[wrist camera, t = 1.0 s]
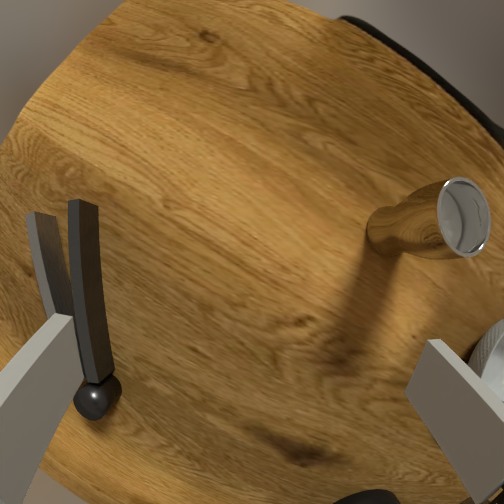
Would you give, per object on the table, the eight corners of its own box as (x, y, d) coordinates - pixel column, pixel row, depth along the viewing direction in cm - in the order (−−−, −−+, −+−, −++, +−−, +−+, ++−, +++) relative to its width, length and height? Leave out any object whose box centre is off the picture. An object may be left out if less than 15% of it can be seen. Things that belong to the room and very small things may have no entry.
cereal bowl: (466, 305, 35) (499, 312, 28) (524, 315, 36) (552, 320, 29) (434, 415, 35) (460, 434, 28) (497, 407, 35) (521, 420, 28)
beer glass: (363, 260, 35) (436, 260, 20) (362, 201, 35) (431, 168, 20) (411, 260, 35) (494, 259, 20) (410, 205, 35) (489, 179, 20)
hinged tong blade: (98, 369, 33) (81, 383, 28) (89, 371, 33) (71, 384, 28) (56, 216, 33) (34, 211, 28) (47, 220, 33) (25, 215, 28)
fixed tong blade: (124, 401, 33) (107, 422, 27) (98, 399, 33) (78, 418, 27) (101, 205, 34) (77, 196, 28) (74, 209, 34) (48, 202, 28)
